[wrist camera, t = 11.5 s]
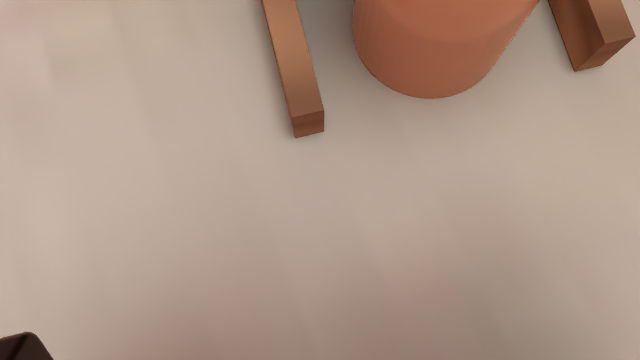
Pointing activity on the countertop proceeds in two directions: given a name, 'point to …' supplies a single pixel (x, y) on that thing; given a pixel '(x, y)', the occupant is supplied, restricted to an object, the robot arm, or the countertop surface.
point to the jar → (435, 41)
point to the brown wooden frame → (566, 3)
